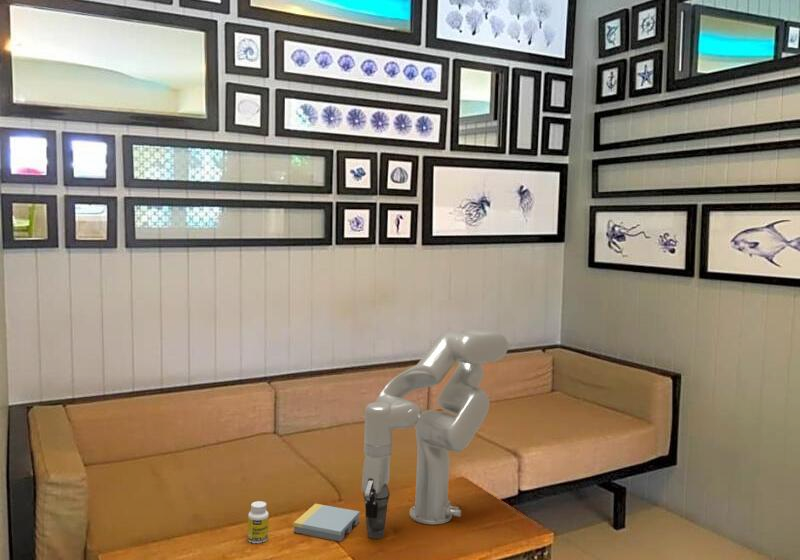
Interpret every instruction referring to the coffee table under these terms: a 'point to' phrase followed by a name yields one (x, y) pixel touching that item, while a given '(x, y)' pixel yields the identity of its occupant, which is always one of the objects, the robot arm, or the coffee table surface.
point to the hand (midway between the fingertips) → (376, 511)
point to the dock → (326, 522)
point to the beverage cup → (378, 514)
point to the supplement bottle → (258, 523)
